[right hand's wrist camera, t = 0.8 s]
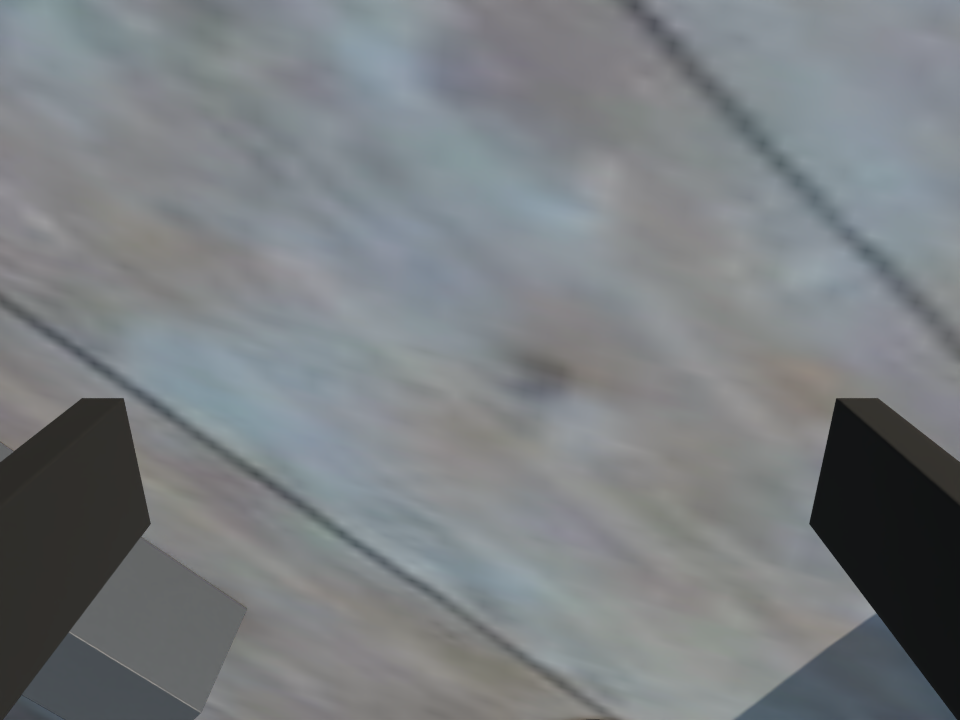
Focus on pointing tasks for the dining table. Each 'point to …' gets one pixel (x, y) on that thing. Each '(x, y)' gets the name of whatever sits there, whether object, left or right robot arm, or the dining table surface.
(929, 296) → the dining table surface
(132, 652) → the bar
